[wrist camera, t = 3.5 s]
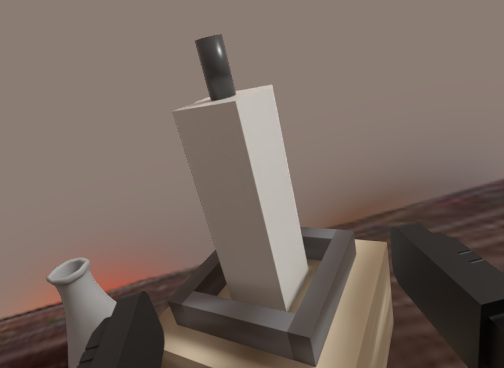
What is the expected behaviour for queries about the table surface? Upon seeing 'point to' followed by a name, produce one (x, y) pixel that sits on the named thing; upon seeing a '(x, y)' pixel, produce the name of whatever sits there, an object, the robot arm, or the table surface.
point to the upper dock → (288, 313)
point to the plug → (244, 184)
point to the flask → (80, 304)
